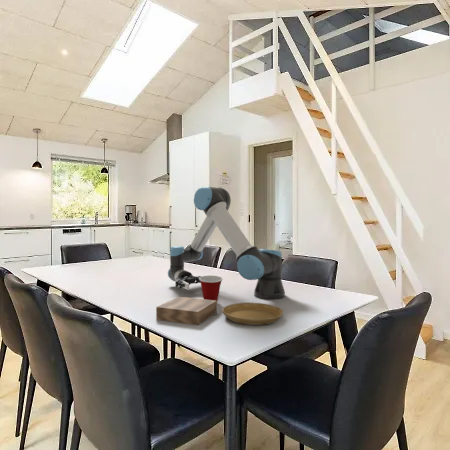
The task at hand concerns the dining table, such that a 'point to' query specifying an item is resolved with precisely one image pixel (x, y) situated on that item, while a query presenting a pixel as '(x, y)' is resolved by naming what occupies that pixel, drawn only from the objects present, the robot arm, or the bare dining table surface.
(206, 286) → the plastic cup
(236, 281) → the dining table surface
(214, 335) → the dining table surface
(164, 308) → the walnut podium
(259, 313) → the plant saucer
